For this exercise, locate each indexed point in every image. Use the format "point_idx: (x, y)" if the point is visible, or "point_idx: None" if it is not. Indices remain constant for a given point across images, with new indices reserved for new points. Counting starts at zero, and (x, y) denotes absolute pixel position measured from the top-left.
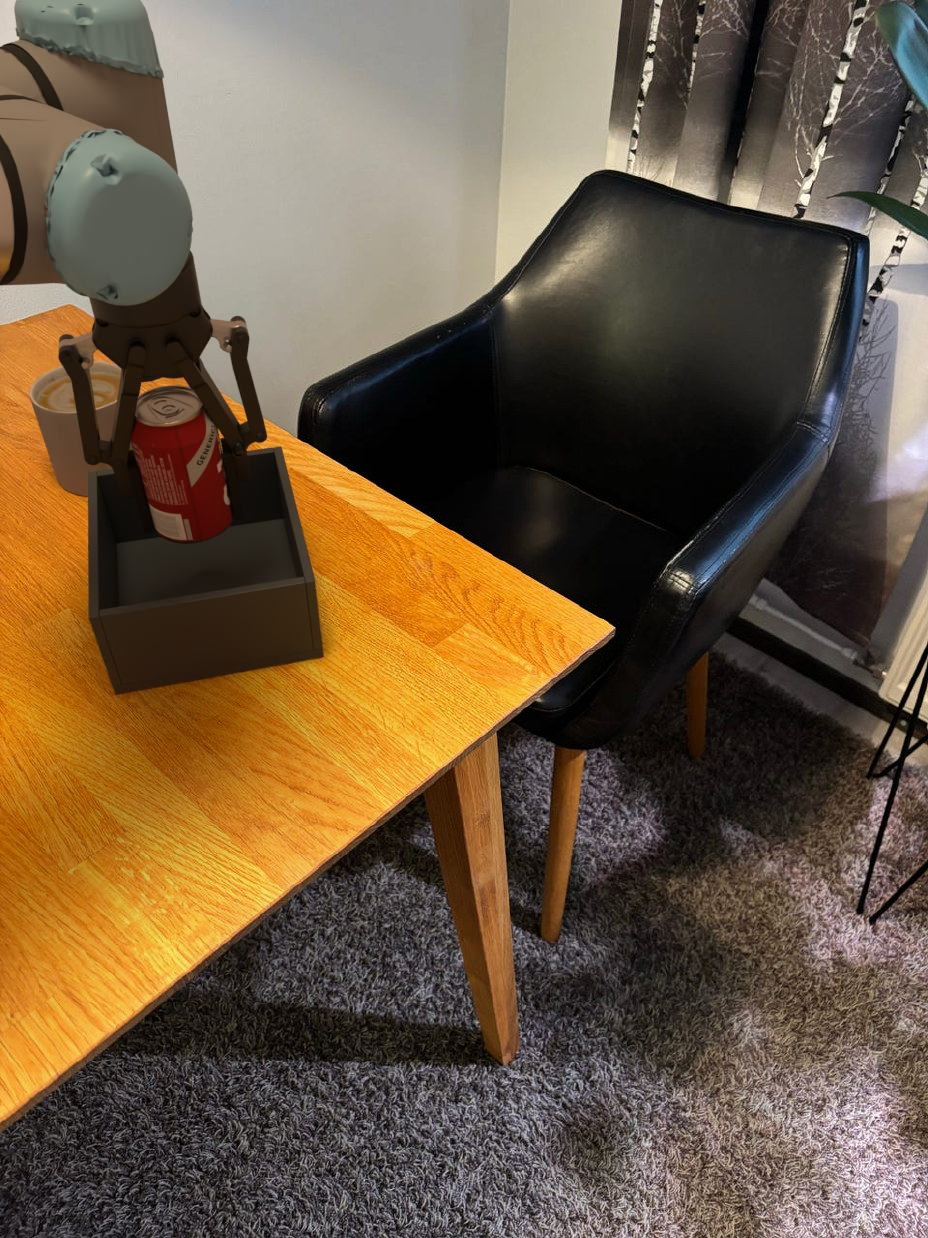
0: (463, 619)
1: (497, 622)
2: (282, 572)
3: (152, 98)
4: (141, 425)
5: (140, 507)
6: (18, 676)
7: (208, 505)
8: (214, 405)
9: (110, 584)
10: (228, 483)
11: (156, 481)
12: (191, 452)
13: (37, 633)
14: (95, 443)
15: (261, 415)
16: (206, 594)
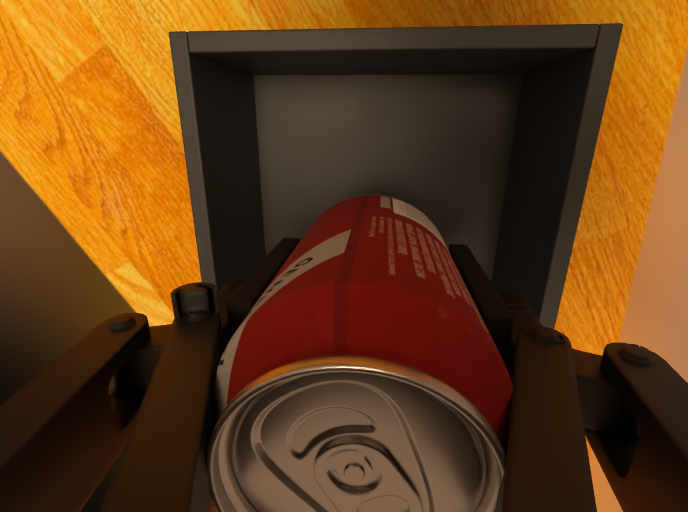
0: (64, 91)
1: (21, 73)
2: (280, 231)
3: None
4: (479, 408)
5: (476, 266)
6: (655, 136)
7: (329, 219)
8: (159, 428)
9: (519, 225)
10: (275, 268)
11: (440, 259)
12: (313, 272)
13: (611, 215)
14: (650, 392)
15: (49, 365)
16: (376, 41)
